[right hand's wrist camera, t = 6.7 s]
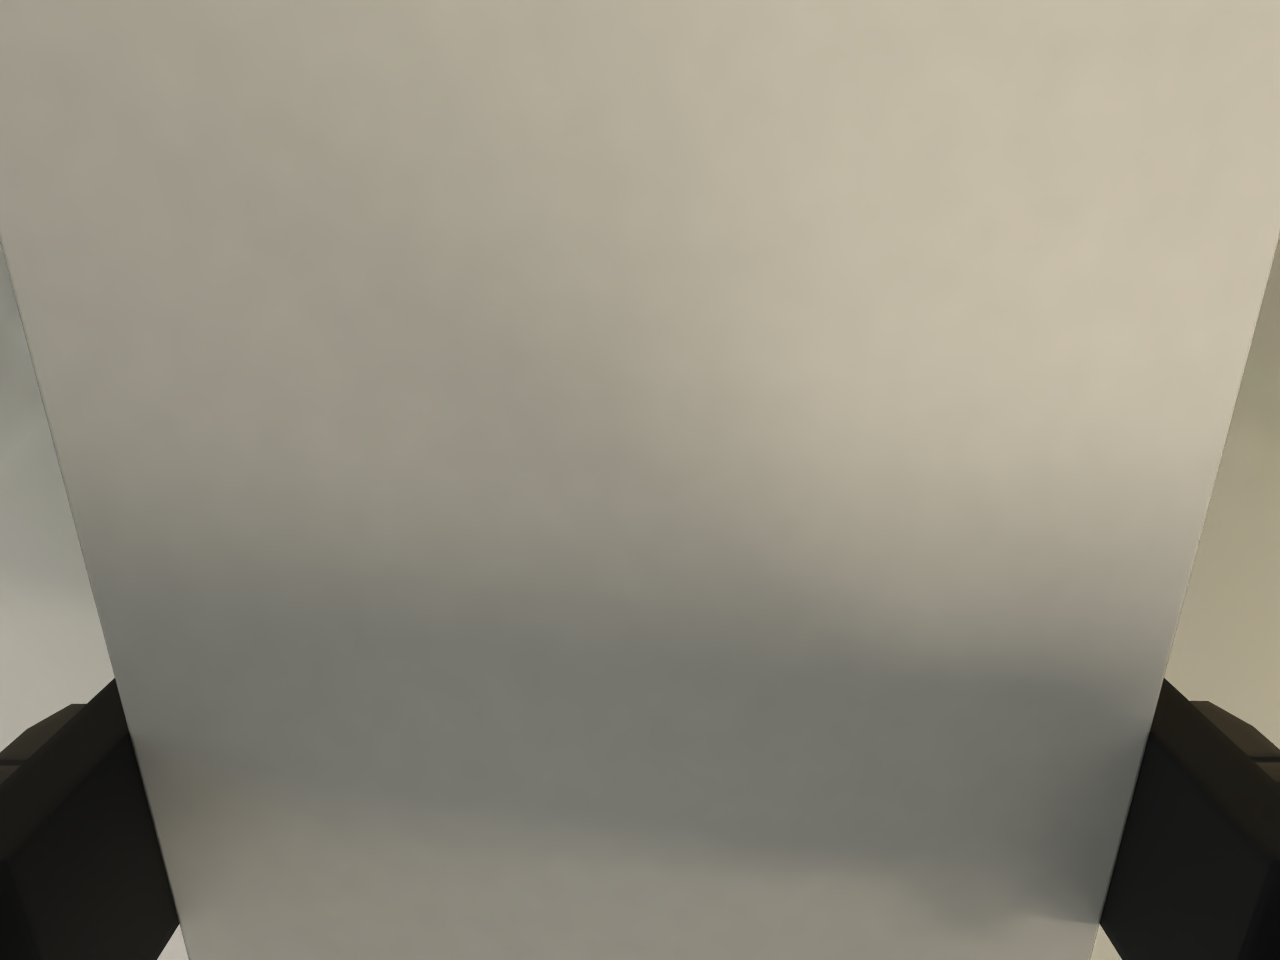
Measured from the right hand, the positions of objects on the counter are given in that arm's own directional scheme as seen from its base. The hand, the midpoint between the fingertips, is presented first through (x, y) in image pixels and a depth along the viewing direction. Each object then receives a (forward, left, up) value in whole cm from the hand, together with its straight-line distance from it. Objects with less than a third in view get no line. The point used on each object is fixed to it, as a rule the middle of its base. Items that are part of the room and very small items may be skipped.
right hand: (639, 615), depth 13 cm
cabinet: (+2, -6, -6) cm, 9 cm away
